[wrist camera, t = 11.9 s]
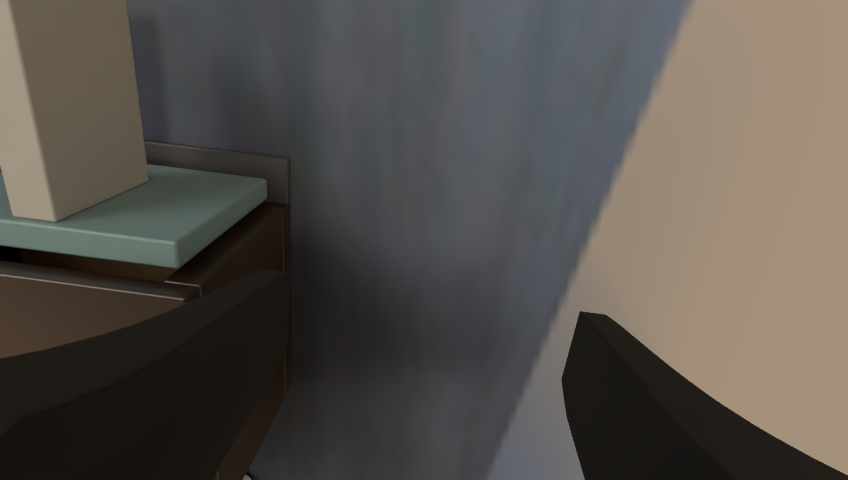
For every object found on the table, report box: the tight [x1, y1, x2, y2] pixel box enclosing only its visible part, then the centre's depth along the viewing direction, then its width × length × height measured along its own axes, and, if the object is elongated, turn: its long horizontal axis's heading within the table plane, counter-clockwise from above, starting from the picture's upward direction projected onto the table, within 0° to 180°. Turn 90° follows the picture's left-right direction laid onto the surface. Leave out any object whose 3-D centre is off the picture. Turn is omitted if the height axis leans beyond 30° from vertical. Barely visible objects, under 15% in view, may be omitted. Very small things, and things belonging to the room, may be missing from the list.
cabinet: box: [0, 140, 291, 480], centre depth 17 cm, size 11×16×8 cm
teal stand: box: [0, 0, 267, 269], centre depth 14 cm, size 7×8×6 cm
